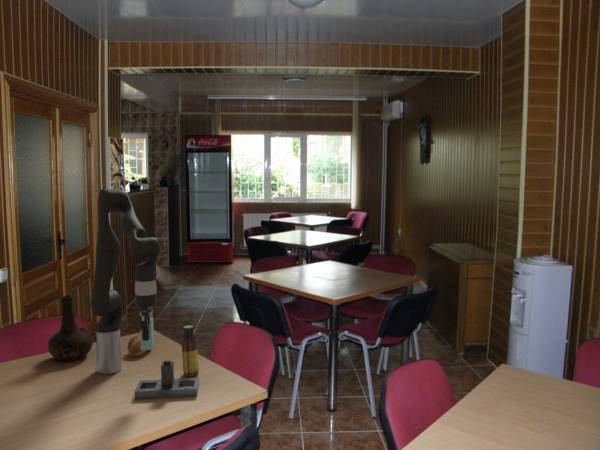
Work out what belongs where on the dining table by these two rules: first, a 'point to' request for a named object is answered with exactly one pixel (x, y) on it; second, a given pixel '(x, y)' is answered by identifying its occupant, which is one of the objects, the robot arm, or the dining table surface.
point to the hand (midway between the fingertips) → (147, 337)
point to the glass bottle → (69, 335)
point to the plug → (149, 343)
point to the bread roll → (135, 346)
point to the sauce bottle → (189, 352)
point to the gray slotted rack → (167, 385)
